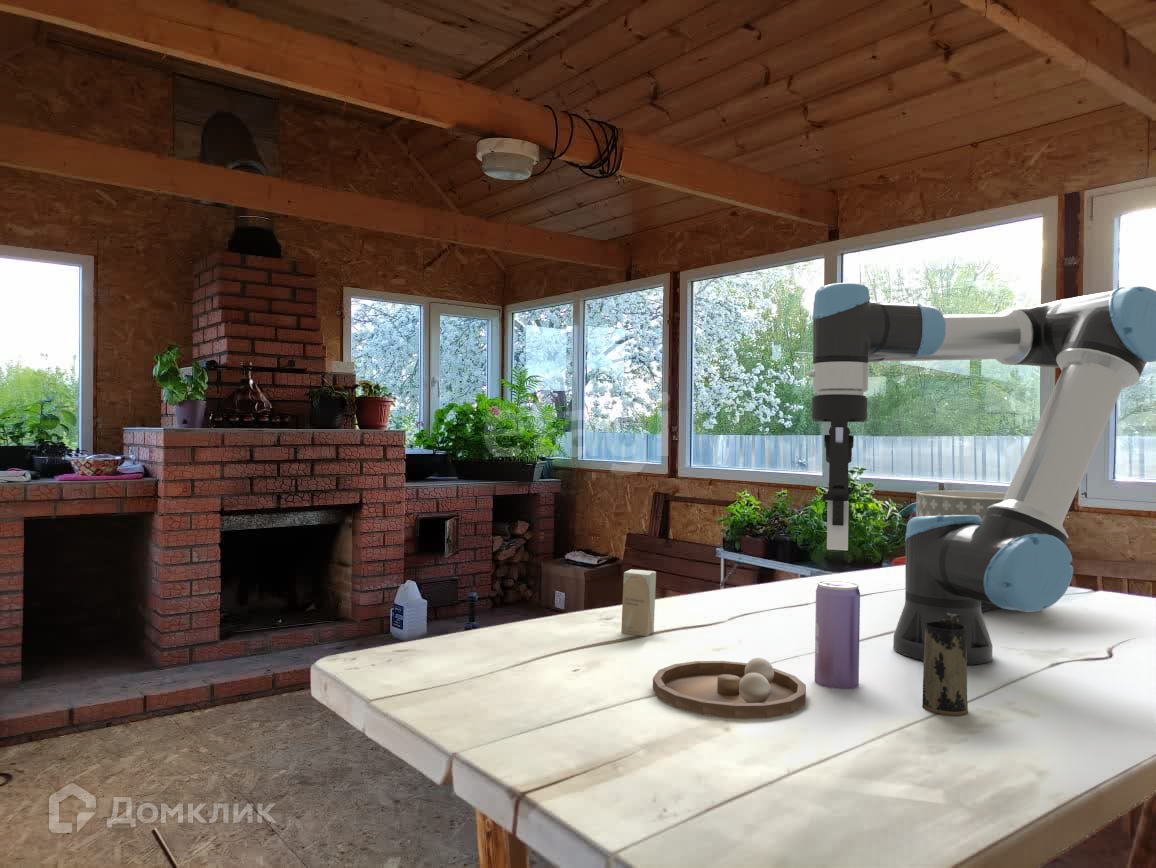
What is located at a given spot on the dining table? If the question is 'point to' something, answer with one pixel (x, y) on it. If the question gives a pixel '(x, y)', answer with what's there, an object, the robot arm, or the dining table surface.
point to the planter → (956, 505)
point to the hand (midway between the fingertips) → (837, 543)
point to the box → (638, 602)
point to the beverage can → (837, 634)
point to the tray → (708, 702)
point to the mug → (945, 667)
